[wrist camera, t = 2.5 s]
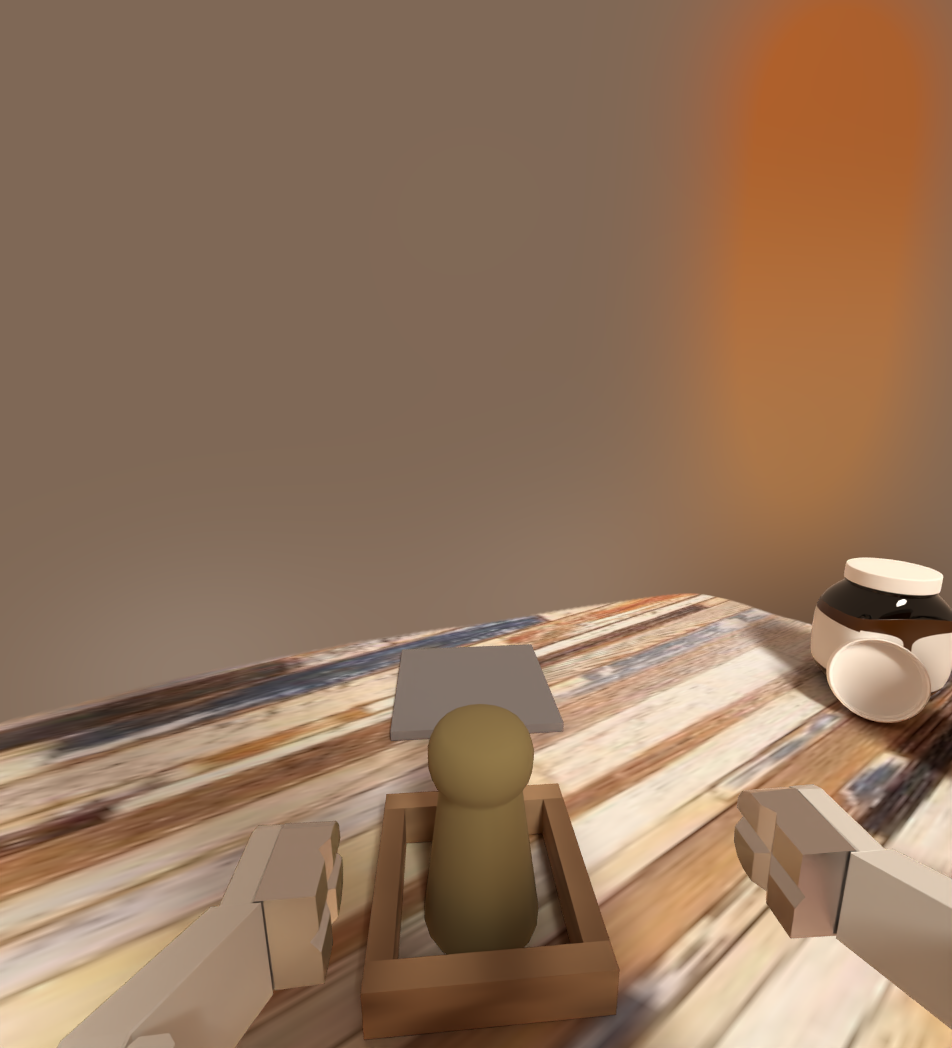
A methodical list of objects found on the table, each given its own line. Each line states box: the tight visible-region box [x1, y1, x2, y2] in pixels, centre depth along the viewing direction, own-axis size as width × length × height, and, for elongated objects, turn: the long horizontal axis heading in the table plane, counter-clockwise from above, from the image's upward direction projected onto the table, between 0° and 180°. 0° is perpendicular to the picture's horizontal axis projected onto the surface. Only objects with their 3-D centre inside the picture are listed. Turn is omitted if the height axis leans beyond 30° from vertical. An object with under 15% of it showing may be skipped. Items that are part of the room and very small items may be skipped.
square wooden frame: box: [361, 784, 619, 1040], centre depth 26 cm, size 11×11×2 cm
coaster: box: [391, 645, 563, 741], centre depth 47 cm, size 14×14×1 cm
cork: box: [425, 704, 538, 955], centre depth 25 cm, size 6×6×11 cm
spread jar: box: [810, 558, 952, 723], centre depth 44 cm, size 12×11×12 cm
